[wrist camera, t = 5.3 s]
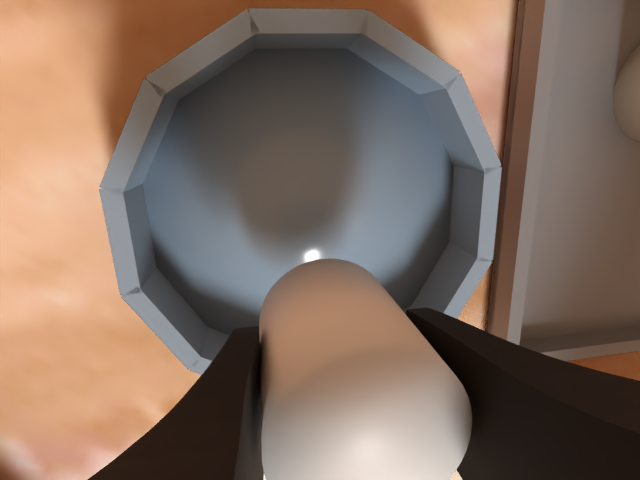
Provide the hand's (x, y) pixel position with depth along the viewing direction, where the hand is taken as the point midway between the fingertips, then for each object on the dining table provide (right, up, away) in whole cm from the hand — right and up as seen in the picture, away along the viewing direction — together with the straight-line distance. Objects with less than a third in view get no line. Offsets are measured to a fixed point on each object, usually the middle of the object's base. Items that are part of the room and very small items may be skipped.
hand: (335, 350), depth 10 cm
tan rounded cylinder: (0, +1, +1) cm, 1 cm away
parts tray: (+13, +6, +6) cm, 15 cm away
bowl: (-1, +4, +4) cm, 6 cm away
